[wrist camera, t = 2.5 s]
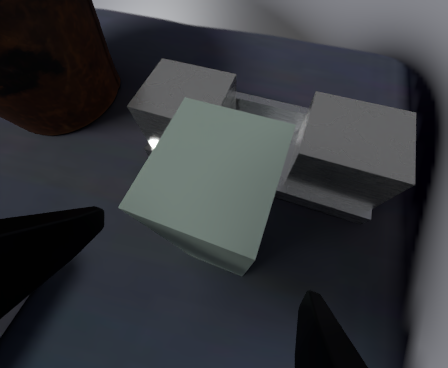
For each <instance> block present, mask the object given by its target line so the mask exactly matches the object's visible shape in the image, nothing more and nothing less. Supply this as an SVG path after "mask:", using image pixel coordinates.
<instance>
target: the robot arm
mask: <svg viewBox="0 0 448 368" xmlns="http://www.w3.org/2000/svg"><path fill="white" fill-rule="evenodd" d="M103 227H104V210H103V209H101V208H98V207H95V206H93V207H86V208H78V209H71V210H64V211H56V212H49V213H42V214H34V215H27V216H19V217H12V218H5V219H0V319H1V318H2V317H4V316H5V315H6V314H7V313H8V312H10V311H11V310H12V309H13V308H14V307H16V306H17V305H18V304H19V303H20V302H22V301H23V300H24V299H25V298H26V297H28V296H29V295H30V294H31V293H32V292H33V291H35V290H36V289H37V288H38V287H39V286H41V285H42V284H43V283H44V282H45V281H47V280H48V279H49V278H50V277H51V276H53V275H54V274H55V273H56V272H57V271H59V270H60V269H61V268H62V267H63V266H64V265H66V264H67V263H68V262H69V261H70V260H72V259H73V258H74V257H75V256H76V255H77V254H78V253H79V252H80V251H81V250H82V249H83V248H84V247H85V246H86V245H87V244H88V243H89V242H90V241H91V240H92V239H93V238H94V237H95V236H96V235H97V234H98V233H99V232H100V231H101V230H102V229H103ZM295 368H368V367H367V365H366V364H365V362H364V361H363V359H362V358H361V356H360V355H359V353H358V352H357V350H356V349H355V347H354V345H353V344H352V342H351V341H350V339H349V338H348V336H347V335H346V333H345V332H344V330H343V329H342V327H341V326H340V324H339V323H338V321H337V319H336V318H335V316H334V315H333V313H332V312H331V310H330V309H329V307H328V306H327V304H326V303H325V301H324V300H323V298H322V296H321V295H320V294H318V293H316V292H313V291H311V290H308V291H307V292H306V294H305V296H304V298H303V300H302V302H301V304H300V307H299V311H298V322H297V334H296V346H295Z"/></svg>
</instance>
